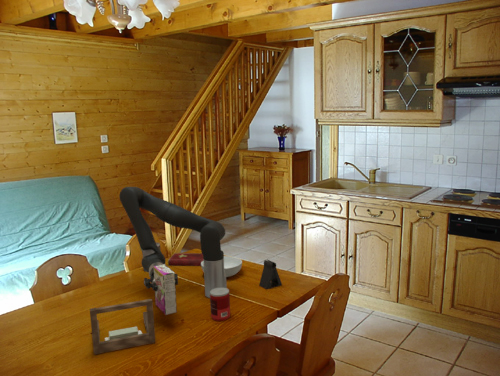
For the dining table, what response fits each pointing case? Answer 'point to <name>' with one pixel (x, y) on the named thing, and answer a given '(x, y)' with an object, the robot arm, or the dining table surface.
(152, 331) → the frame
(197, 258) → the hardcover book
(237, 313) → the dining table surface
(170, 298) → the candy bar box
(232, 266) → the serving bowl
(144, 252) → the pillar candle
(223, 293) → the canned food
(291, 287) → the dining table surface
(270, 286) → the phone stand
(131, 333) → the upper offcut
